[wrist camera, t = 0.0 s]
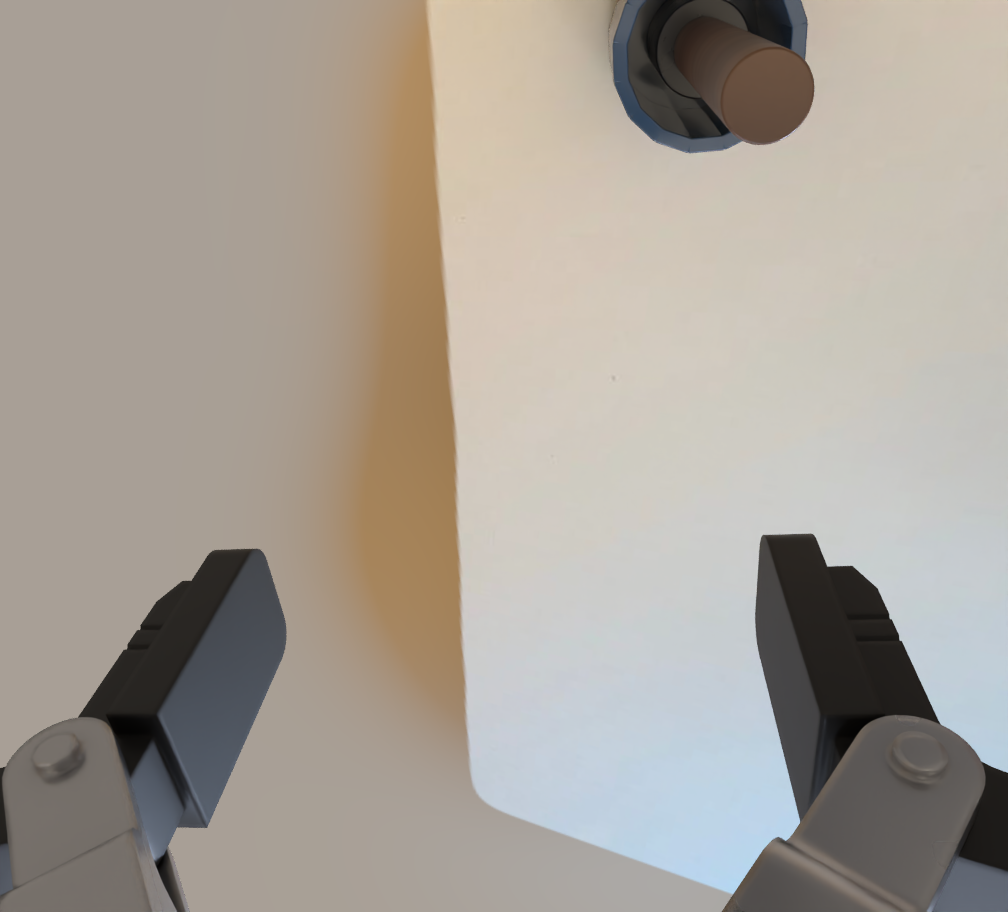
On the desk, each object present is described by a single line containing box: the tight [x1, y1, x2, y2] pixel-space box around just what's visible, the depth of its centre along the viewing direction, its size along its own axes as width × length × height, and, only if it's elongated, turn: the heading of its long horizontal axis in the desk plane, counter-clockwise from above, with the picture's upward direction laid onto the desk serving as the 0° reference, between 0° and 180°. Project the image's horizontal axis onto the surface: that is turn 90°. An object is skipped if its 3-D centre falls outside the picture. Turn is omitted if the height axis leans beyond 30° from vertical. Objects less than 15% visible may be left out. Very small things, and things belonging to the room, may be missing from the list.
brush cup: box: [609, 0, 808, 153], centre depth 30 cm, size 6×6×7 cm
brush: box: [647, 0, 814, 145], centre depth 25 cm, size 3×3×17 cm
